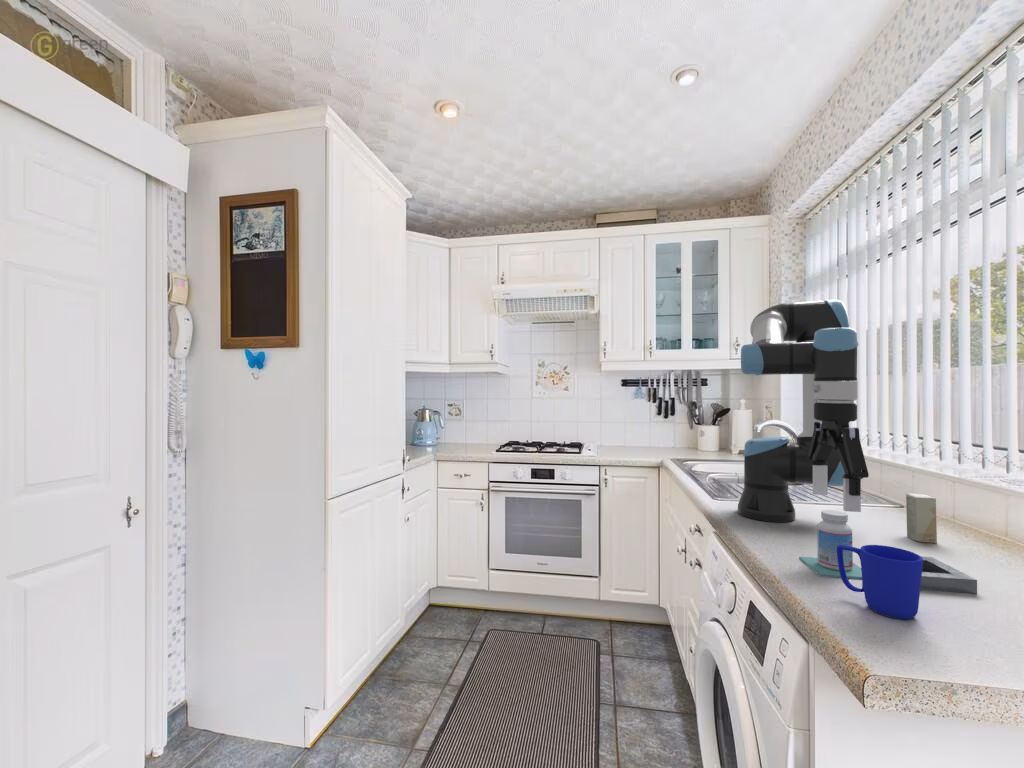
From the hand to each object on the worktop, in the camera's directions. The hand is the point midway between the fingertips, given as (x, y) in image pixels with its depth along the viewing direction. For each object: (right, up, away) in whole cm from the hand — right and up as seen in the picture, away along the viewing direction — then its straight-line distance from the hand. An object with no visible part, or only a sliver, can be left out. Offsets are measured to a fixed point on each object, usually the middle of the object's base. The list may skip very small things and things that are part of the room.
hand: (834, 502), depth 98 cm
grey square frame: (+13, -14, -5) cm, 20 cm away
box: (+35, -15, +19) cm, 42 cm away
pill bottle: (0, -14, 0) cm, 14 cm away
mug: (-5, -14, -18) cm, 23 cm away
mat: (0, -14, -1) cm, 14 cm away
